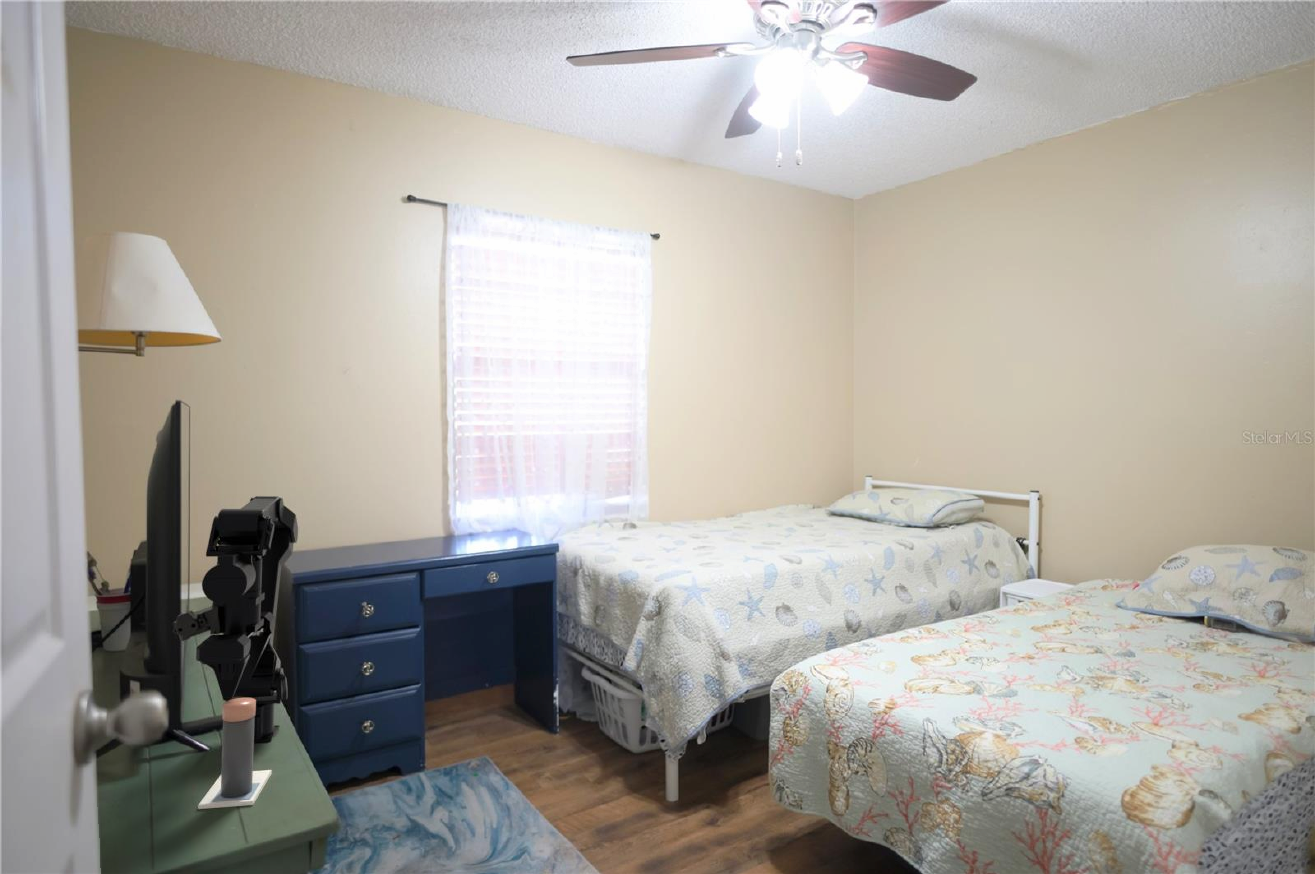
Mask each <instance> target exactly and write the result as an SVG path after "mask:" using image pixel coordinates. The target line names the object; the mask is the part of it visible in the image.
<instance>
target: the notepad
mask: <svg viewBox="0 0 1315 874" xmlns="http://www.w3.org/2000/svg"><path fill="white" fill-rule="evenodd" d="M272 773H273V770H272V769H267V770H266V769H265V770H262V769H261V770H253V779H252V791H251V792H250V793H248V794H247V795H244V796H242V797H238V798H224V797H222V796H221V774H220V775H219V777H218V778H217V779H216V781H215V782H214V784H213V785H212V786H211V787H210V789H209V790H208V791H207V793H206V794H205V796H204V797H203V798H202V799H201V801H200V802H199V804H198V805H197V806H198V807H197V808H198V810H203V809H204V810H205V809H216V808H217V809H218V808H230V807H241V806H242V807H243V806H244V807H245V806H253V805H254V804H255V803H256V800H257V799H258V797H259V796H260V794H261V792H262V791H263V789H264V787H265V785H266V784H267V782H268V781H269V779H270V777H271V775H272Z"/></svg>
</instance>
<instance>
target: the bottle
mask: <svg viewBox="0 0 1315 874" xmlns="http://www.w3.org/2000/svg"><path fill="white" fill-rule="evenodd" d="M255 711H256V700H255V699H253V698H236V699H232V700H229V701H224V702H223V703H222V716H221V719H222V745H221V746H222V748H221V773H220V775H221V796H222V797H224V798H238V797H242V796H244V795H247V794H248V793H250V792H251V791H252V779H253V771H254V769H253V768H254V746H255V745H254V744H255V743H254V718H255Z"/></svg>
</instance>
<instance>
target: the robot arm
mask: <svg viewBox="0 0 1315 874" xmlns="http://www.w3.org/2000/svg"><path fill="white" fill-rule="evenodd" d="M209 533H210V534H209V539H208V541H207V542H208V544H207V548H206V552H205V556H206V557H207V558H208V557H209V558H210V557H211V558H212V557H213V558H214V557H217V561H216V565H214V566H212V567H211V568H210V569H209V570H207V572H206V573H205V575H204V576H203V579H202V581H201V589H202V592H203V594H204V596H205V597H206V598H207V599H208V600H209V601H211V602H212V603H211V606H209V607H206V608H203V609H200V610H197V611H193V610H188V611H187V612H184V613H180V614H179V615H177V617H176V620H175V621H173V623H172V626H173V629H172V633H173V634H175V635H178V636H179V639H180V641H181V642H184V641H188V640H190V639H191V638H192V637H194V636H199V635H200V634H203V633H204V634H205V633H206V632H210V633H209V634H210V636H208V637H207V638H205V639H204V640H203V641H201V643H199V645H198V646H196V651H195V652H196V653H195V654H196V655H195V661H197V662H200V663H201V664H202V665H206V666H207V667H209V668H210V669H212V670H213V672H214V675H215V678H216V681H217V685H218V688H219V690H220V694H221V697H222V700H223V701H224V702H226V701H229V700H232V699H236V698H253V699H255V700H256V711H255V718H254V744H257V743H259V744H260V743H261V744H262V743H270V742H272V741H273V739H274V737H275V736H276V735H277V733H278V732H279V730H280V729H281V727H280V725H278V724H277V725H275V705H276V704H277V705H279V704H280V705H281V703H282V702H284V701H286V700H288V681H287V676H286V675H285V673H284V668H282V667H281V663H282V662H281V659H280V657H279V656H278V654H277V652H276V650H275V648H274V637H275V628H276V618H277V611H278V610H277V609H278V601H279V600H278V599H279V591H280V582H281V576H282V575H281V573H282V567H283V566H284V565H285V564H286V563H287V561H288V559H290V558H291V557H292V555H293V550H294V544H297V542H298V537H299V536H298V535H299V527H298V518H297V514H296V513H294V511H292V510H291V509H290V508H289V507H287V506H285V503H284V499H283V497H279V496H272V495H271V496H264V495H262V496H261V495H259V496H258V495H257V496H256V495H255V496H254V497H250V499H249V502H248V503H246V504H245V505H244V506H242V507H241V508H221V509H220V510H219V512H218V514H217V515H216V516H214V518H213V521H212V525H211V530H210V532H209Z"/></svg>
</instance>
